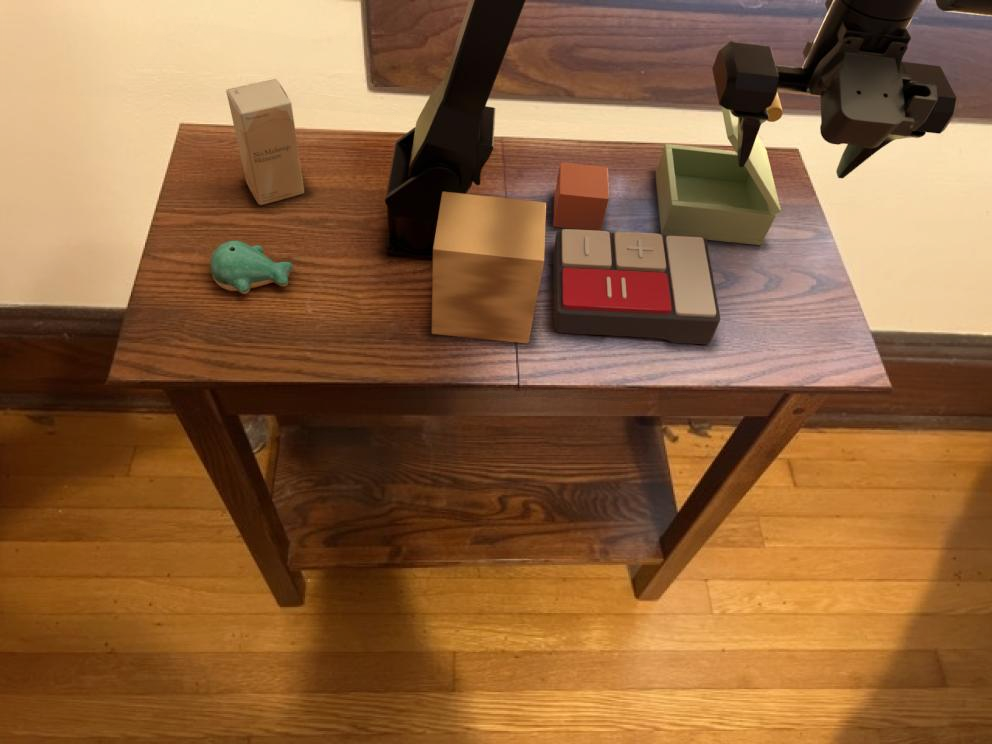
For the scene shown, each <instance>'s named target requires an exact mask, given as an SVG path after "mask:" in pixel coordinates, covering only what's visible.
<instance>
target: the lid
mask: <svg viewBox="0 0 992 744" xmlns="http://www.w3.org/2000/svg"><path fill="white" fill-rule="evenodd" d="M720 107H721V112H722V116H723V117H722V118H723V122H724V129H725V134H726V136H727V139H728V141H729V143H730V144H731V146H732V148H733V149H734V151H736V153H737V154H738V117H735V116H734V115H732V113H731V111H730V110H728V109H725V108H724V107H722V106H721V105H720ZM767 112H768V116H769V119H768V120H767V121H766V122H769V123H775V122H777V121H779V120H780V119H782V116H783V114H784V112H783V107H782V104H781V99H780V97H779V93H778V92H777V94H776V96H775V98H774V101H773V103H772V105H771V106H770V107H768V108H767ZM744 166H745V167H746V169H747V170H748V172H749V174H750V175H751V177H752V179H753V180H754V182H755V183H756V185H757V187H758V188H759V190H760V192H761V193H762V195H763V196H764V198H765V200H766V201H767V203H768V205H769V206H770V208H771V209H772V211H773V213H774V214H776V215H777V214H779V213H781V211H782V210H781V205H780V201H779V197H778V193H777V188H776V185H775V180H774V176H773V172H772V168H771V163H770V159H769V155H768V151H767V148H766V146H765V145H764V143H763V141H762V139H761V138H760V136H759V133H758V134H757V137H756V140H755V142H754V145H753V148H752V151H751V154H750V156H749V158H748V160H747V162H746V164H745V165H744Z"/></svg>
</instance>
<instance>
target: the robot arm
mask: <svg viewBox="0 0 992 744" xmlns="http://www.w3.org/2000/svg"><path fill="white" fill-rule="evenodd" d="M526 1H527V0H468V3H467V5H466V9H465V12H464V15H463V19H462V22H461V25H460V28H459V31H458V35H457V38H456V41H455V45H454V47H453V50H452V53H451V57H450V60H449V62H448V66H447V69H446V72H445V75H444V78H443V79H442V81H441V82H440V83H439V84H438V85H437V87H436V88H435V89H434V90H433V91H432V92H431V94H430V96H429V97H428V99H427V101H426V103H425V104H424V105H423V106H424V107H422V110H421V112H420V113H419V116H418V117H417V119H416V122H415V126H414V127H413V128H411V129H410V130H409V131H408V132H406V133H404V134H403V135H402V136H400V137H399V138H398V139H396V141H395V142H394V147H393V152H392V153H393V155H392V158H391V164H390V171H389V175H388V180H387V187H386V193H385V198H384V203H385V204H386V212H387V231H388V233H387V238H386V244H385V254H386V255H387V256H395V257H402V258H403V257H404V258H413V259H415V258H416V259H422V260H423V259H425V260H432V261H433V246H434V240H435V234H436V227H437V221H438V215H439V209H440V203H441V197H442V192H452V193H461V194H468V192H469V190H470V189H471V188H472V186H473V183H474V184H475V185H476V186H480V185H481V179H482V178H481V177H482V170H483V168H484V166H485V165H486V163H487V162H488V160H489V159H490V157H491V155H492V154H493V153H492V152H493V151H494V143H495V125H496V122H495V121H496V108H495V107H493V106H487V103H488V101H489V98H490V95H491V93H492V91H493V88H494V84H495V82H496V79H497V77H498V74H499V72H500V69H501V66H502V63H503V62H504V59H505V56H506V54H507V50H508V49H509V48H508V47H509V45H510V43H511V39H512V37H513V34H514V32H515V29H516V27H517V24H518V22H519V19H520V16H521V13H522V11H523V8H524V6H525V3H526ZM922 2H923V0H825V2H824V5H825V8H826V10H827V12H826V15H825V17H824V19H823V21H822V24H821V26H820V28H819V30H818V33H817V34H816V37H815V38H814V41H810V40H808V41H807V42H806V44H805V46H804V49H803V51H802V55H803V58H804V63H803V65H802V67H797V66H790V65H789V66H788V65H780V64H776V61H775V57H774V53H773V49H772V47H771V45H764V44H755V43H749V42H748V43H746V42H738V41H729V42H728V43H726V45H724V46H723V47H722V48H720V49H719V50H718V52H717V54H716V57H715V60H714V63H713V65H712V68H711V71H712V75H713V80H714V85H715V90H716V95H717V101H718V105H719V106H720V107H721V106H722V107H724V108H725V109H728V110H730V111H731V113H732V115H734V116H735V117H738V165H739V167H744V165H745V164H746V162H747V160H748V158H749V156H750V154H751V151H752V148H753V145H754V142H755V140H756V137H757V134H758V135H759V131H760V128H761V126H762V124H763V123H765V122H768V121H767V120H768V119H769V116H768V112H767V108H768V107H770V106H771V105H772V103H773V101H774V98H775V96H776V94H777V92H778V94H779V93H780V94H789V95H796V96H797V95H798V96H804V97H813V98H820V121H821V122H820V126H819V130H820V131H819V132H820V135H821V137H822V139H823V140H824V141H825V142H827V143H828V144H831V145H837V146H838V145H842V144H843V145H846V146H845V148H844V151H843V152H842V155H841V157H840V160H839V162H838V165H837V167H836V175H837V178H838V179H844V178H845V177H847V176H848V175H849V174H851V173H852V172H853V171H855V169H857V168H858V167H859V166H861V165H862V164H863V163H865V162H866V161H867V160H869V158H870V157H872V156H873V155H874V154H876V153H877V152H879V151H880V150H881V149H882V148H884V147H885V146H887V145H889V144H890V143H892V142H893V141H895V140H902V139H910V138H914V139H919V138H923V137H924V136H925V135H926V133H929V134H930V133H931V134H937V135H938V134H942V133H943V132H944V131H945V130H946V128H947V127H948V126H949V125H950V123H951V121H952V120H953V119H954V117H955V116H956V115H957V110H958V105H959V101H958V98H957V95H956V94H955V92H954V90H953V87H952V86H951V84H950V82H949V80H948V78H947V76H946V74H945V72H944V71H943V69H942V67H941V65H935V64H934V65H933V64H925V63H917V62H908V61H903V58H904V55H905V54H906V52H907V51H908V48H909V46H908V45H909V44H910V41H911V40H912V37H911V35H910V33H909V30H908V29H907V28H908V27H909V25H910V24H911V22H912V20H913V18H914V16H915V14H916V13H917V11H918V10H919V7H920V5H921V4H922ZM935 4H936V6H937V8H938V10H940V11H942V12H948V13H957V14H966V15H967V14H968V15H977V16H986V17H992V0H935ZM722 107H721V108H722Z"/></svg>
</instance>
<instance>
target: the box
mask: <svg viewBox="0 0 992 744" xmlns="http://www.w3.org/2000/svg"><path fill="white" fill-rule="evenodd" d="M225 93H226V97H227V101H228V106H229V110H230V115H231V119H232V123H233V128H234V132H235V137H236V141H237V142H236V143H237V146H238V151H239V155H240V160H241V165H242V170H243V174H244V179H245V182H246V184H247V186H248V188H249V191H250V192H251V194H252V196H253V198H254V199H255V201H256V203H257V205H259V206H263V205H267V204H271V203H274V202H279V201H282V200H286V199H290V198H294V197H297V196H300V195H303V194H305V186H304V181H303V173H302V166H301V159H300V153H299V146H298V139H297V133H296V126H295V124H296V123H295V118H294V117H295V116H294V111H293V105H292V101H291V99H290V97H289V96H288V94H287V92H286V91H285V89H284V88H283V86H282V84H281V82H280V81H279V79H276V78H272V79H269V80H268V79H267V80H262V81H259V82H253V83H248V84H244V85H241V86H236V87H231V88H226V90H225Z"/></svg>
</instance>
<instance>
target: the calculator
mask: <svg viewBox="0 0 992 744" xmlns="http://www.w3.org/2000/svg"><path fill="white" fill-rule="evenodd" d="M720 322H721V312H720V307H719V302H718V296H717V292H716V285H715V280H714V274H713V268H712V262H711V257H710V250H709V246H708V240H706V239H705V238H703V237H690V236H671V235H661V233H651V232H650V233H649V232H630V231H615V232H612V231H611V232H609V231H608V230H601V231H594V230H580V229H571V228H563V229H558V230H557V231H556V233H555V240H554V247H553V329H554V331H555V332H556V333H558V334H559V333H560V334H579V335H595V336H597V335H598V336H615V337H617V336H618V337H634V338H635V337H637V338H655V339H664V340H666V341H668V342H670V343H676V344H692V345H693V344H695V345H709V344H711V342H712V340H713V338H714V335H715V334H716V332H717V329H718V326H719V324H720Z"/></svg>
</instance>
